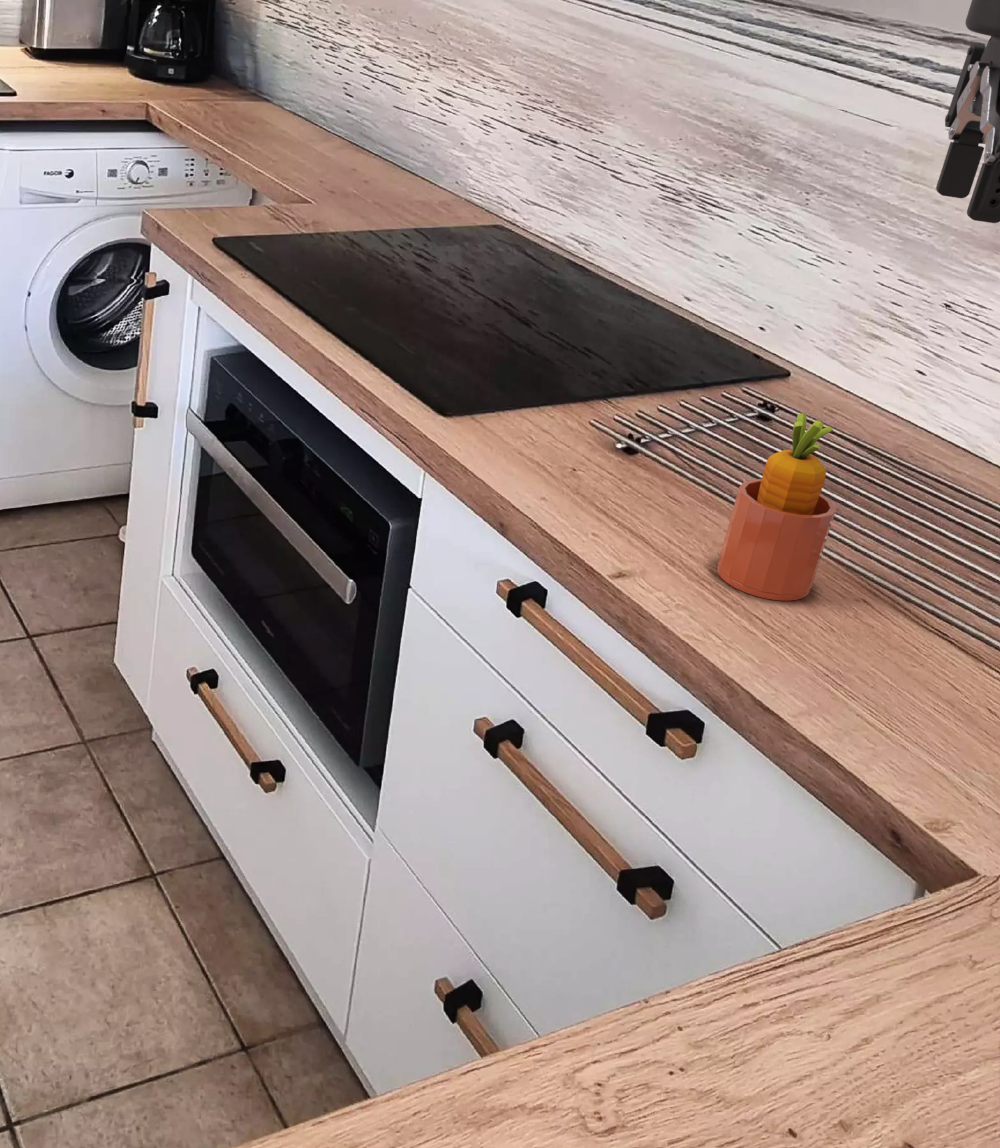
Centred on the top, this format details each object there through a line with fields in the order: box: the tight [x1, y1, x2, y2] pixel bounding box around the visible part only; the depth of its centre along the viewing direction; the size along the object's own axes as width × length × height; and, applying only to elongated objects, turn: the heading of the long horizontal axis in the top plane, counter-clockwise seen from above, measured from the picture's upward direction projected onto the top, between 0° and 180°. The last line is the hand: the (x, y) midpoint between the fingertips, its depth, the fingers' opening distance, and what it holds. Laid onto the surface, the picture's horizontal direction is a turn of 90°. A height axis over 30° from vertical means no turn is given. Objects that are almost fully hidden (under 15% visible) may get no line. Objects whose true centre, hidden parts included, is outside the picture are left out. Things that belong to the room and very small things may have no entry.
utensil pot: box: [716, 478, 837, 602], centre depth 132 cm, size 8×8×8 cm
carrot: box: [757, 412, 834, 515], centre depth 130 cm, size 5×5×15 cm
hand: (966, 208), depth 107 cm, fingers open, 8 cm apart
